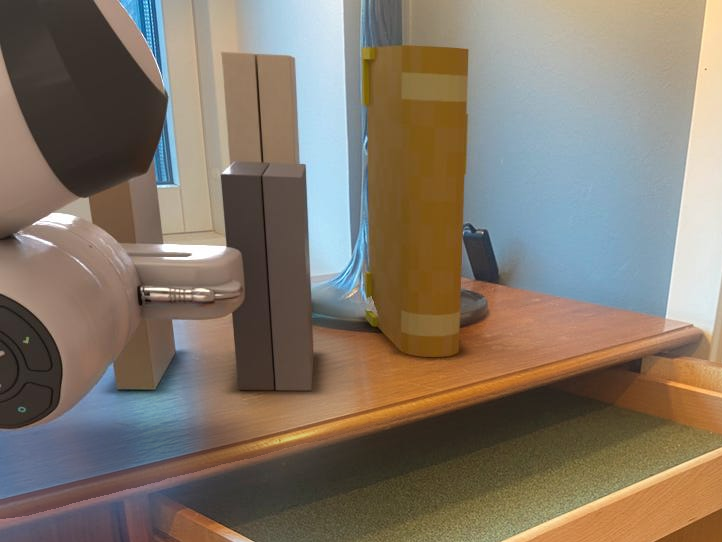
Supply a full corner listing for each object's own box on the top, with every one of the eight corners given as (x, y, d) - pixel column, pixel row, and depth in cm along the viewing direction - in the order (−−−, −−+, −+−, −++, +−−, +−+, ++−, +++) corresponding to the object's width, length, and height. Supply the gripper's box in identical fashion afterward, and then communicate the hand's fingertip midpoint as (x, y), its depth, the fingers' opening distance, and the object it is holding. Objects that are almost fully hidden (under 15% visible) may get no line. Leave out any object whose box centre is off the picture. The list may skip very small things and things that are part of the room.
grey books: (238, 390, 78) (220, 173, 70) (249, 353, 88) (234, 161, 80) (311, 390, 79) (301, 176, 71) (313, 354, 89) (305, 164, 81)
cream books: (242, 322, 99) (221, 51, 87) (251, 295, 111) (234, 54, 99) (302, 323, 100) (290, 55, 88) (305, 296, 112) (295, 57, 100)
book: (365, 318, 103) (361, 47, 91) (425, 317, 105) (429, 51, 93) (401, 358, 90) (402, 44, 77) (470, 355, 91) (482, 49, 79)
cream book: (116, 390, 77) (74, 105, 67) (141, 352, 87) (108, 100, 77) (154, 390, 77) (118, 107, 67) (175, 352, 88) (147, 102, 77)
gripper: (234, 245, 58) (251, 215, 69) (-131, 233, 55) (-49, 205, 67) (242, 351, 61) (257, 306, 73) (-103, 345, 58) (-29, 299, 70)
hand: (108, 257), depth 70 cm, fingers open, 8 cm apart
